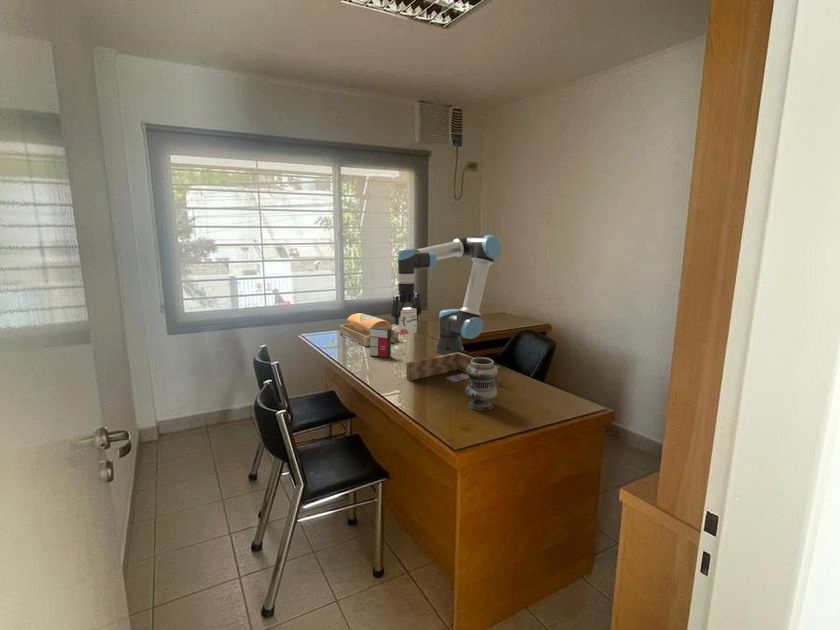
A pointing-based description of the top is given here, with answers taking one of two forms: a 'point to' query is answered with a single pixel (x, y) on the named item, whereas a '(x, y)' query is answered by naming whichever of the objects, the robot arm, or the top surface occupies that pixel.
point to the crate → (362, 338)
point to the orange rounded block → (366, 323)
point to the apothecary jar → (481, 383)
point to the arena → (443, 367)
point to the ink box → (408, 321)
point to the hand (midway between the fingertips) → (406, 330)
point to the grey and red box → (380, 342)
